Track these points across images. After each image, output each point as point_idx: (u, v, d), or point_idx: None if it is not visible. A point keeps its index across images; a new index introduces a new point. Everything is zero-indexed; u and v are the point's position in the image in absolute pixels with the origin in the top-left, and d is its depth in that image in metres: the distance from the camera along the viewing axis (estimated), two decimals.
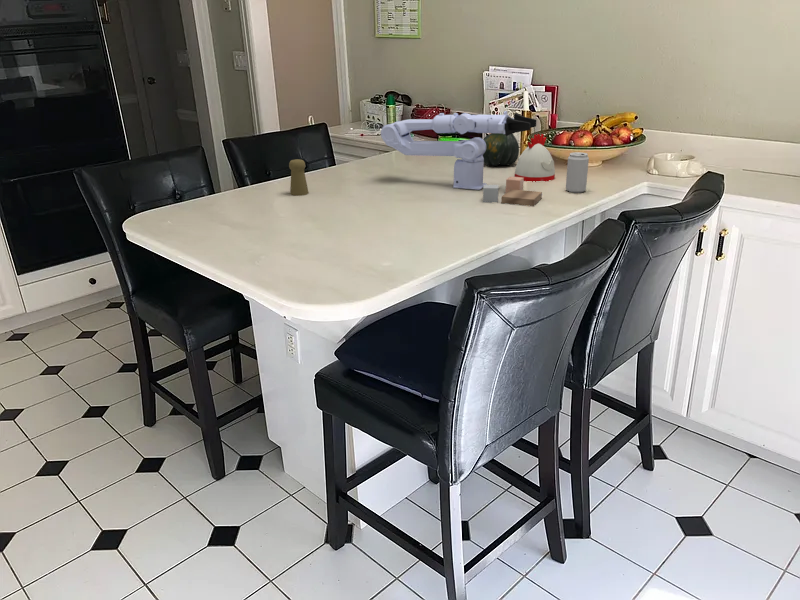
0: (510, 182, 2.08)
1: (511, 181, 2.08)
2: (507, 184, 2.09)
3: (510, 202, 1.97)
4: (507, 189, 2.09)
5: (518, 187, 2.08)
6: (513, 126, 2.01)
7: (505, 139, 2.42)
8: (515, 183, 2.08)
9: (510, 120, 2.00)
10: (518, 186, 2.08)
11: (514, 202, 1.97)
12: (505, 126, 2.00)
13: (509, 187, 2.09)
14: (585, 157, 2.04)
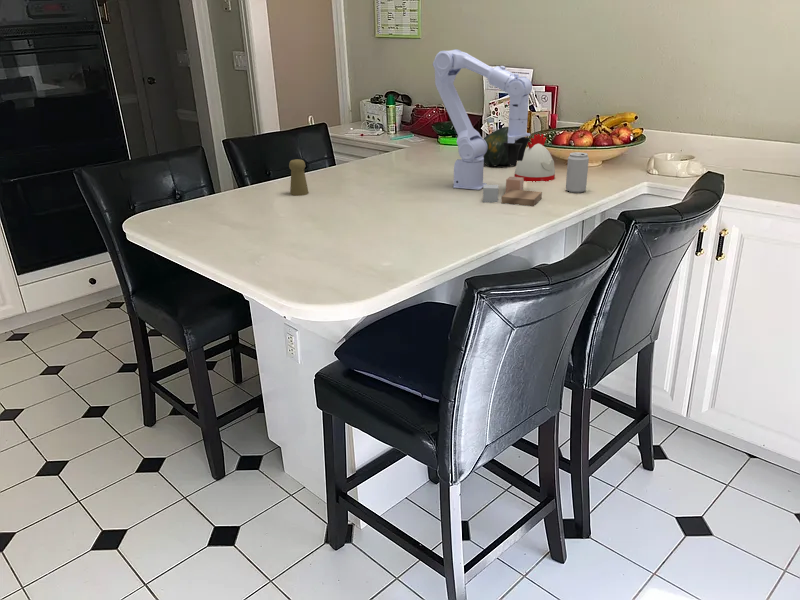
0: (510, 182, 2.08)
1: (511, 181, 2.08)
2: (507, 184, 2.09)
3: (510, 202, 1.97)
4: (507, 189, 2.09)
5: (518, 187, 2.08)
6: (512, 149, 2.02)
7: (505, 139, 2.42)
8: (515, 183, 2.08)
9: (518, 148, 2.00)
10: (518, 186, 2.08)
11: (514, 202, 1.97)
12: (512, 143, 1.99)
13: (509, 187, 2.09)
14: (585, 157, 2.04)
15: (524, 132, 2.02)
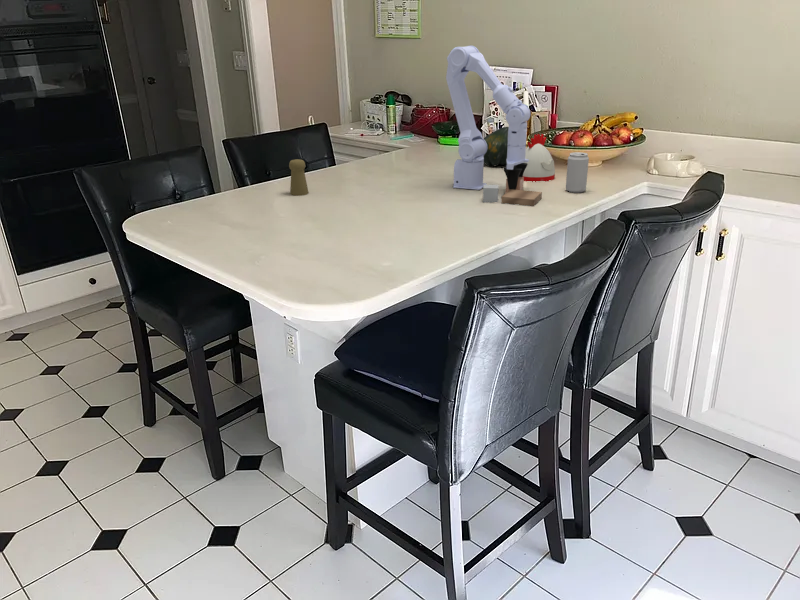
0: None
1: None
2: (507, 184, 2.09)
3: (510, 202, 1.97)
4: (507, 189, 2.09)
5: (518, 187, 2.08)
6: (512, 174, 2.06)
7: (505, 139, 2.42)
8: None
9: (517, 173, 2.04)
10: (518, 186, 2.07)
11: (514, 202, 1.97)
12: None
13: None
14: (585, 157, 2.04)
15: (523, 158, 2.05)
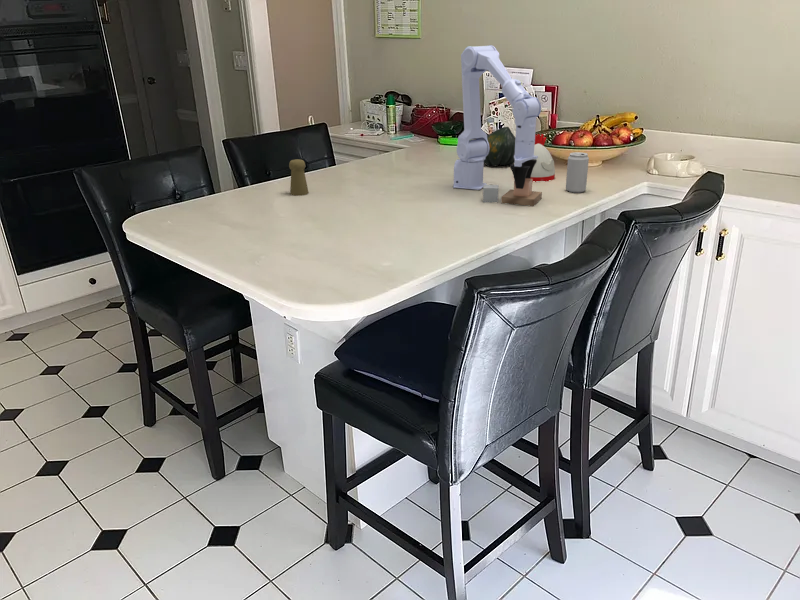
0: None
1: None
2: (515, 186, 1.98)
3: (510, 202, 1.97)
4: (515, 191, 1.98)
5: (527, 189, 1.96)
6: (519, 172, 1.94)
7: (505, 139, 2.42)
8: None
9: (525, 171, 1.92)
10: (527, 188, 1.96)
11: (514, 202, 1.97)
12: (519, 166, 1.91)
13: (517, 189, 1.98)
14: (585, 157, 2.04)
15: (531, 154, 1.93)
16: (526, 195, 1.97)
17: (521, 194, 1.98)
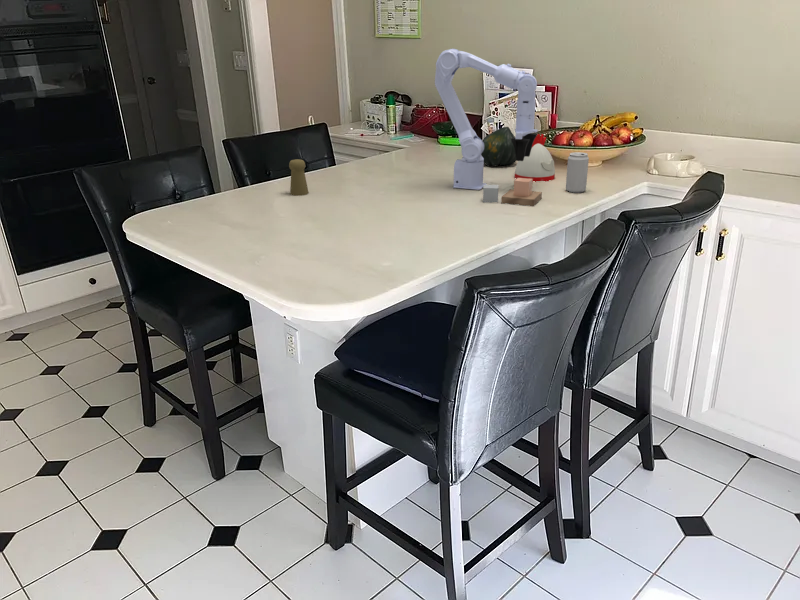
0: (518, 184, 1.97)
1: (519, 182, 1.97)
2: (515, 186, 1.98)
3: (510, 202, 1.97)
4: (515, 191, 1.98)
5: (527, 189, 1.96)
6: (520, 145, 2.05)
7: (505, 139, 2.42)
8: (523, 185, 1.96)
9: (525, 143, 2.03)
10: (527, 188, 1.96)
11: (514, 202, 1.97)
12: (519, 139, 2.03)
13: (517, 189, 1.98)
14: (585, 157, 2.04)
15: (531, 128, 2.05)
16: (526, 195, 1.97)
17: (521, 194, 1.98)
